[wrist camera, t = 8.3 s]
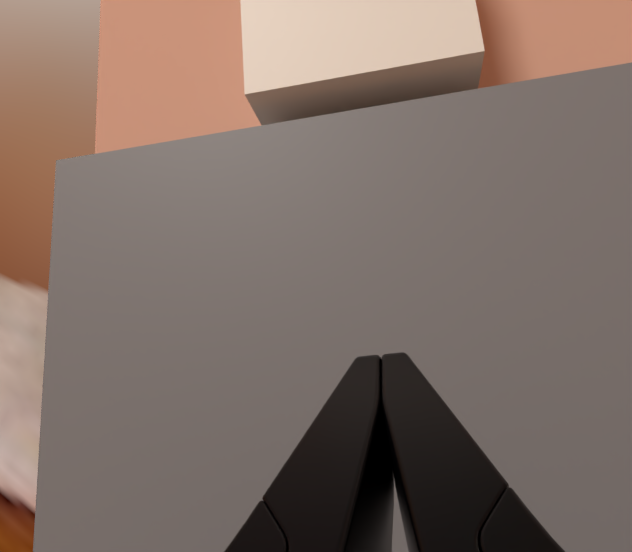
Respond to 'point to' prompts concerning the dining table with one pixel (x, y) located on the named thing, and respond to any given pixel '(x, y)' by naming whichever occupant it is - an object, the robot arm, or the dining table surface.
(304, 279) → the deck
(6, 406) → the dining table surface
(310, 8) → the card box
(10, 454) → the dining table surface
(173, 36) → the mat
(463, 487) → the robot arm
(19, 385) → the dining table surface
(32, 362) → the dining table surface
